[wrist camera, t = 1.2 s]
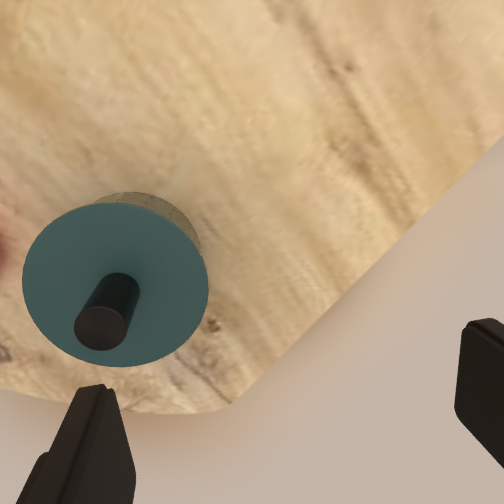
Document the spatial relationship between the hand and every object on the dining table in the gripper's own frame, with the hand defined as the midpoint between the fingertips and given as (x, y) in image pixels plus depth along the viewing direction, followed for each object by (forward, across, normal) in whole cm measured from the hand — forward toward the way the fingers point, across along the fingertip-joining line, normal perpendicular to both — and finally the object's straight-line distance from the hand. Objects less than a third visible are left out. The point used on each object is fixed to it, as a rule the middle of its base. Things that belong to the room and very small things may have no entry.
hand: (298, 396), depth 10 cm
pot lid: (+18, +9, +4) cm, 21 cm away
